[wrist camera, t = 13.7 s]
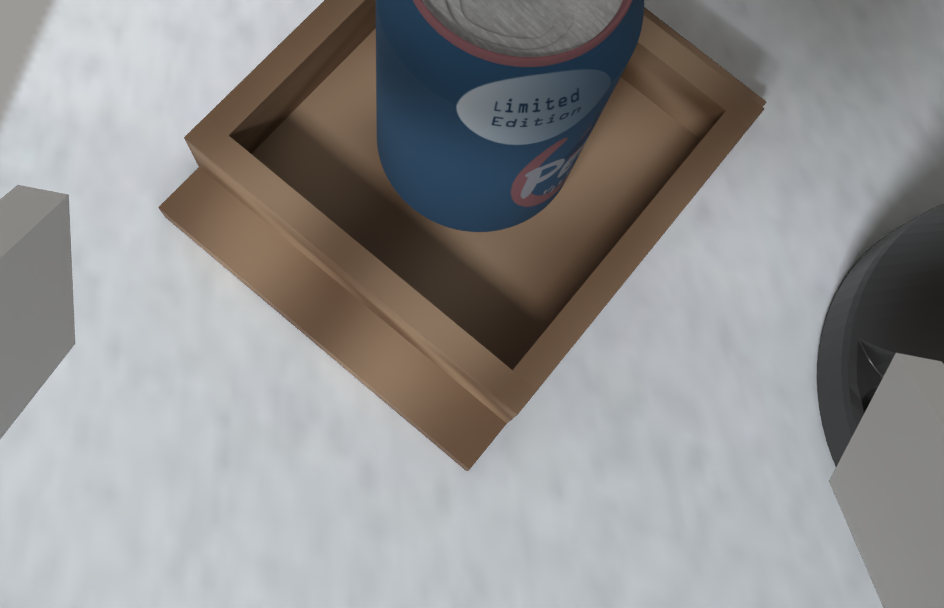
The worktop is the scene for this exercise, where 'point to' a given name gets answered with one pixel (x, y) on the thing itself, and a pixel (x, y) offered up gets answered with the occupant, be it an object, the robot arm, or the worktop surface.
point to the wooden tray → (433, 245)
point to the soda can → (493, 100)
